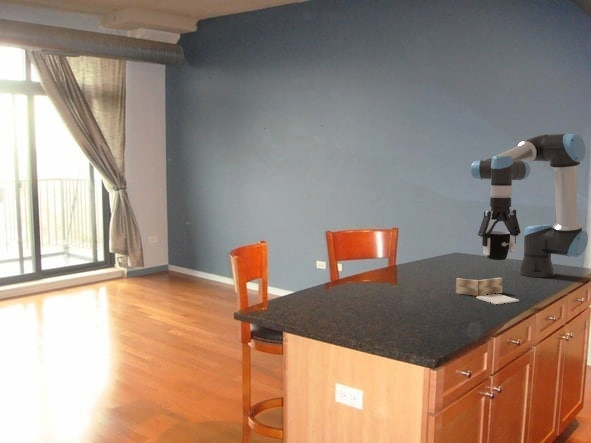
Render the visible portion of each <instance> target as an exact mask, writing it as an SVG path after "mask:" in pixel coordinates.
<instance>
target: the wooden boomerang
mask: <svg viewBox="0 0 591 443" xmlns="http://www.w3.org/2000/svg"><path fill="white" fill-rule="evenodd" d="M503 286H504V285H503V277H495V278H485V279H479V280H478V279H470V278H469V279H468V278H459V277H457V278H456V281H455V294H459V295H468V296H469V295H470V296H476V297H477V296H484V295H487V294H488V295H492V294H495V293H496V294H502V293H503Z"/></svg>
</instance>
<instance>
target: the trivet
mask: <svg viewBox="0 0 591 443" xmlns="http://www.w3.org/2000/svg"><path fill="white" fill-rule="evenodd" d="M476 299H478V300H481V301H485V302H487V303H490V302H491V304H493V305H496V304H498V305H504V303H505V304H510V303H511V304H512V303H516V302H520V300H519V299H518V298H514V297H510V296H507V295H503V294H502V293H496V294H488V295H481V296H476Z"/></svg>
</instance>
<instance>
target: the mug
mask: <svg viewBox="0 0 591 443" xmlns="http://www.w3.org/2000/svg"><path fill="white" fill-rule="evenodd" d="M488 238H490V255H486V256H487V259H488V260H491V261H492V260H493V261H505V260H506V259H507V257H508V254H509V252H508V250H509V244H510V232H509V231H504V230H492V232H491V233H490V235H489V237H488Z"/></svg>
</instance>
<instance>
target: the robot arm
mask: <svg viewBox="0 0 591 443" xmlns="http://www.w3.org/2000/svg"><path fill="white" fill-rule="evenodd" d="M585 156H586V144H585V142H584V140H583V138H582V136H580V135H579V134H577V133H556V134H555V133H554V134H553V133H552V134H551V133H550V134H540V135H536V136H533V137H531V138H528V139H524V141H521V142H519V143H518V144H517V146H515V147H513V148H511V149H507V150H506V151H504V152H501V153H499V154H497V155H494V156H492V157H490V158H488V159H484V160H483V159H482V160H481V159H479V160H474V161H473V162H472V164H471V166H470V175H471V177H472V178H474V179H476V180H490V196H491V197H490V200H489V201H490V202H489V206H490V208H491V209H490V210H484V211H483V218H482V221H481V224H480V227H479V229H478V233H477V235H478V236H479V237H480V238H481V240H482V241H481V242H482V243H481V244H482V247H483V249H482V250H483V251H482V254H483V255H485V256H487V255H490V238H488V237H489V235H490V233H491V232H492V231H494V228H495V226H496V224H498V223H499V222H502V223H504V225H505V227H506V230H507V232H510V244H509V250H508V253H511V254H514V253H515V249H516V248H515V246H516V245H515V244H516V243H517V242H516V240H517V237H518V236H519V235H520V234H521V228H520V224H519V220H518V218H517V209H513V208H512V209H511V207H512V197H511V196H512V193H513V192H512V191H513V188H512V187H513V181H522V180H525V179H527V178H528V177H529V175H530V173H531V166H530V165H529V163H532V162H549V164H550V165H549V167H550V168H551V169H552V170H553V172H554V174H553V176H554V193H555V195H554V196H555V197H554V198H555V220H556V223H555V224H554V225H553V224H534V225H528V226H526V227H525V229H524V235H523V236H524V239H523V242H524V243H523V258H522V261H521V264H520V267H519V269H518V270H519V271H518V273H519V275H520V276H521V275H522V276H525V277H532V278H552V277H555V269H554V266H553V262H552V255H557V256H565V257H574V258H577V257H578V258H579V257H580V256H582V255H583V253H584V252H585V250H586V248H587V246H588V241H589V234H588V232H586V230H583V226H582V224H581V223H579V218H578V216H579V215H578V214H579V213H578V212H579V211H578V184H577V168H578V167H579V166H580V165H581V162H582V161H583V160H584V159H585Z"/></svg>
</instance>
